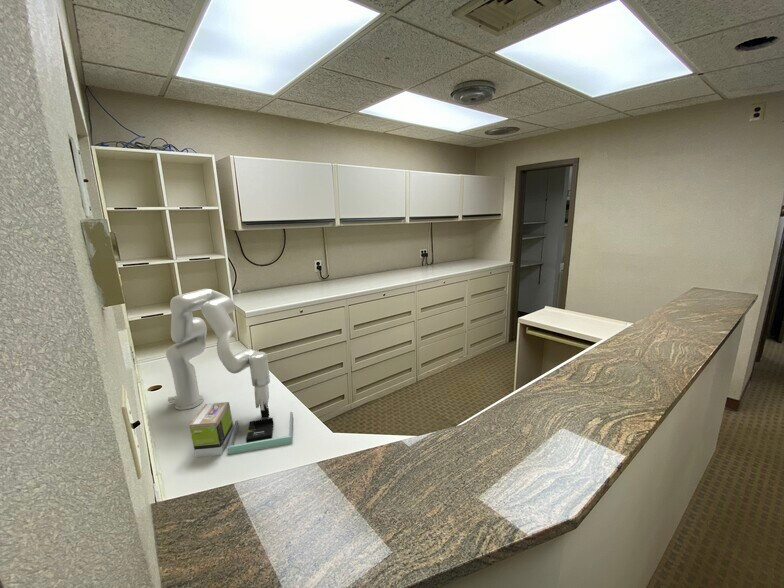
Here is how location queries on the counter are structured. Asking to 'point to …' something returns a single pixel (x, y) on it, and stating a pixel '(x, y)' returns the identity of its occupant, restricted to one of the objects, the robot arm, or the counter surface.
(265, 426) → the battery charger
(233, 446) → the dock
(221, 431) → the tea box
